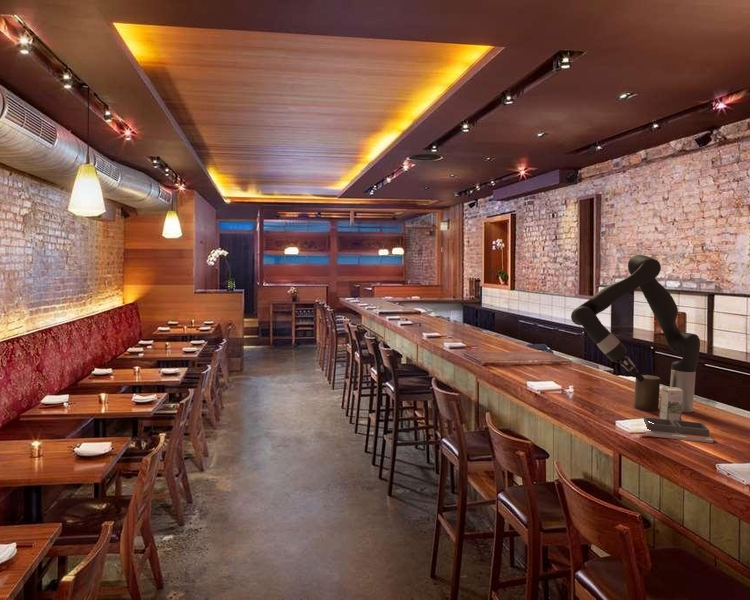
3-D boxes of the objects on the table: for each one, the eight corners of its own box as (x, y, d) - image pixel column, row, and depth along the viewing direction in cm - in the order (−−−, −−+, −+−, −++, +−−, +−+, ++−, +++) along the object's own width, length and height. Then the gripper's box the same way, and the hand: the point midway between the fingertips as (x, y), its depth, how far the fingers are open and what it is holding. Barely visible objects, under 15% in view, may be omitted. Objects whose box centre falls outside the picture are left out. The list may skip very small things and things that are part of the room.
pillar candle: (661, 412, 245) (663, 376, 244) (636, 410, 247) (638, 374, 246) (654, 406, 255) (657, 372, 254) (630, 404, 257) (633, 370, 256)
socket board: (641, 425, 224) (641, 416, 224) (703, 431, 218) (704, 422, 218) (646, 435, 211) (647, 426, 210) (712, 442, 205) (713, 433, 204)
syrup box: (672, 423, 229) (675, 386, 228) (680, 427, 223) (683, 389, 222) (658, 422, 229) (660, 386, 227) (666, 427, 223) (668, 389, 222)
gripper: (621, 343, 222) (652, 375, 220) (617, 338, 236) (646, 369, 233) (605, 355, 224) (635, 388, 222) (602, 350, 238) (631, 381, 235)
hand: (641, 378), depth 228 cm, fingers open, 8 cm apart
